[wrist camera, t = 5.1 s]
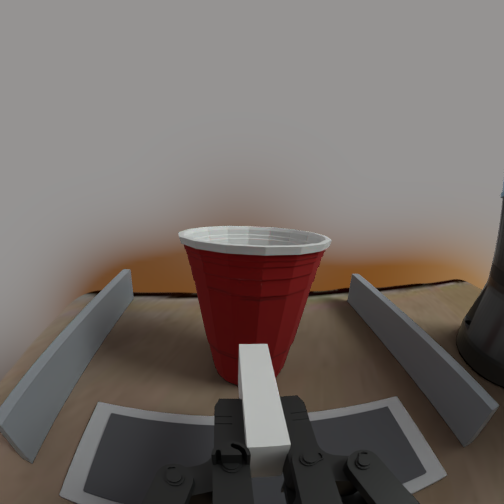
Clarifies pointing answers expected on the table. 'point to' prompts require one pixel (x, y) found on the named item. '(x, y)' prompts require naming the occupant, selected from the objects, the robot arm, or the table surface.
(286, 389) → the table surface
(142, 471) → the pad
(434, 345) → the guide rails
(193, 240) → the plastic cup
